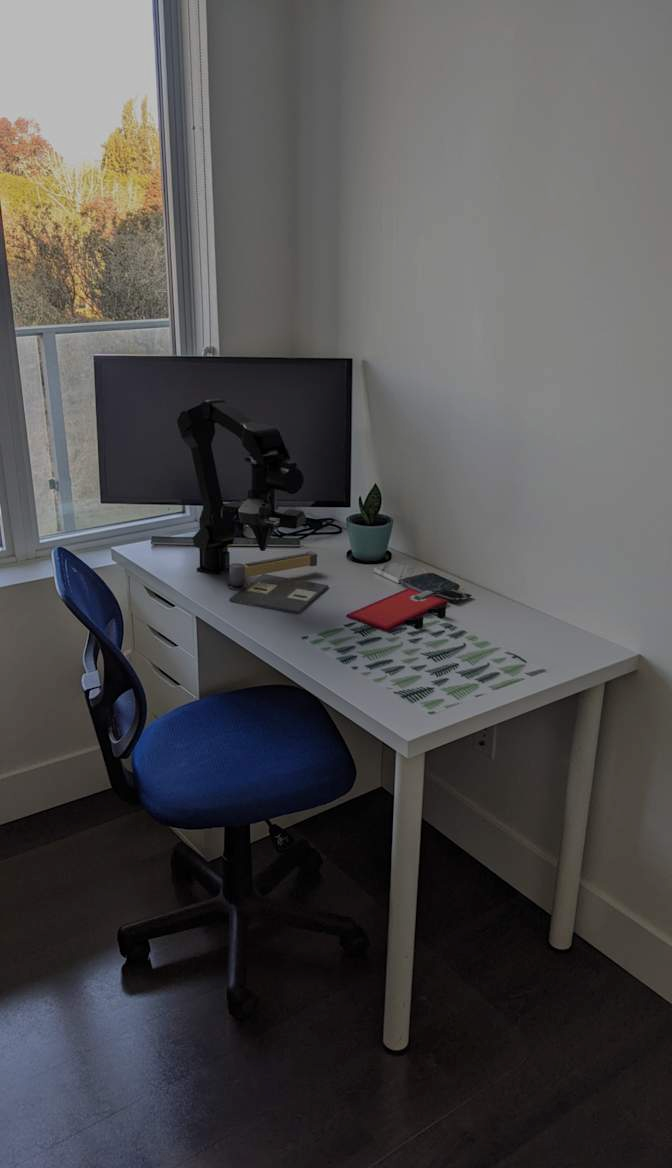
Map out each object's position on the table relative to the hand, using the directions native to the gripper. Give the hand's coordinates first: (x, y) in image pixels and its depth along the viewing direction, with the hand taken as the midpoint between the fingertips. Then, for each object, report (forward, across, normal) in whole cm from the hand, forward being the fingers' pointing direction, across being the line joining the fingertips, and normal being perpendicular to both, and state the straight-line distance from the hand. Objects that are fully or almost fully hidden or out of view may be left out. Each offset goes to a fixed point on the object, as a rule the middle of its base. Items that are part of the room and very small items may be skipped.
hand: (262, 550), depth 209 cm
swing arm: (+9, -1, +8) cm, 12 cm away
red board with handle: (+11, +35, +5) cm, 37 cm away
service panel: (+10, +2, 0) cm, 10 cm away
